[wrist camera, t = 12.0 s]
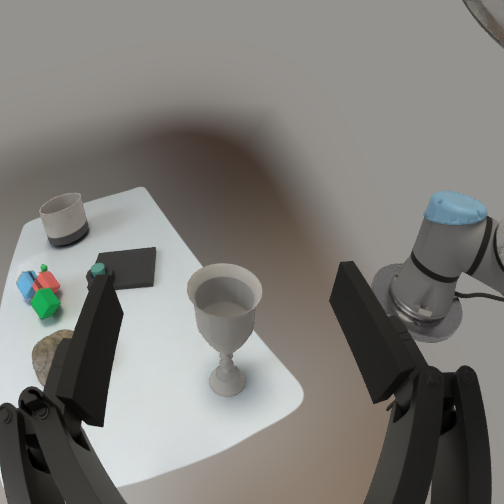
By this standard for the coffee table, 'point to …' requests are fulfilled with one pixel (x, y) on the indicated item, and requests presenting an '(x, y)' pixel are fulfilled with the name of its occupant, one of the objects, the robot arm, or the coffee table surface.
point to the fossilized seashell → (47, 353)
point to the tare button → (98, 269)
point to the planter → (64, 219)
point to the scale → (128, 268)
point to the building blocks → (40, 291)
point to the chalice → (225, 317)
